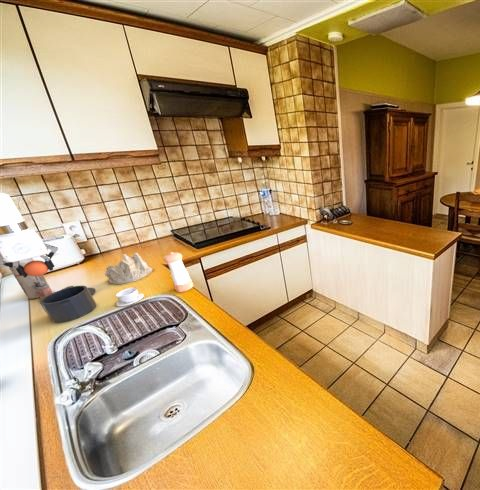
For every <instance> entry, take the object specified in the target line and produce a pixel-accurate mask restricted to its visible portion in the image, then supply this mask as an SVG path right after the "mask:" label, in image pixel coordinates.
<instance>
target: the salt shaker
mask: <svg viewBox="0 0 480 490" xmlns="http://www.w3.org/2000/svg"><path fill="white" fill-rule="evenodd" d="M163 261H164V262H165V263H167V266H168V268H169V271H170V275H171V279H172V281H173V287H174V289H175V291H176V293H177V292H178V293H182V292H183V293H184V292H187V291H189V290H191V289H192V288H193V287H194V282H193V279H192V278H191V277H190V275H189V272H188V270H187V269H186V267H185V265H184V262H183V255H182V253H181V252H177V251H175V252H173V251H171V252H169V253H168V254H166V255H165V256H164V258H163Z"/></svg>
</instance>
